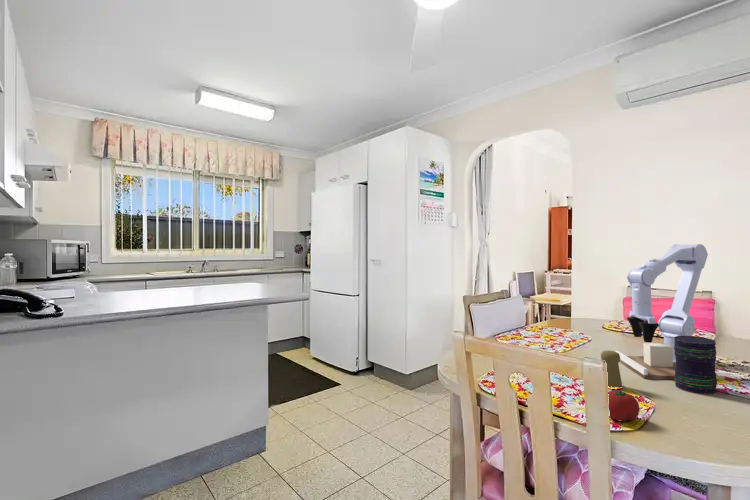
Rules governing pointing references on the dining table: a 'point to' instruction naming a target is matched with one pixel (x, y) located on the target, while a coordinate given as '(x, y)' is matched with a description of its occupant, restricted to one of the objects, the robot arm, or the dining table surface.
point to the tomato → (622, 406)
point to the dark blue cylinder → (695, 364)
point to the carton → (658, 354)
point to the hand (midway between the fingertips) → (642, 339)
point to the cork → (612, 368)
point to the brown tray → (647, 368)
